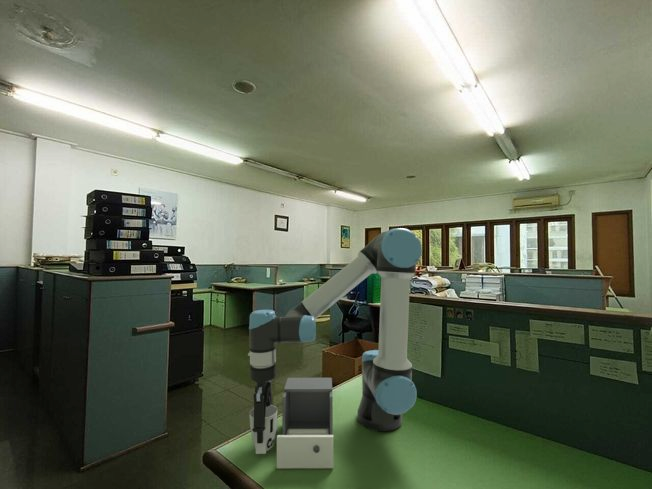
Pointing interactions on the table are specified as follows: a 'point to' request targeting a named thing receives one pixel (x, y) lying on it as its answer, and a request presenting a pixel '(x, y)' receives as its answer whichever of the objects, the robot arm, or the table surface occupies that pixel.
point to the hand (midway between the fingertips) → (264, 443)
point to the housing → (307, 404)
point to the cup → (266, 425)
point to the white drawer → (305, 449)
